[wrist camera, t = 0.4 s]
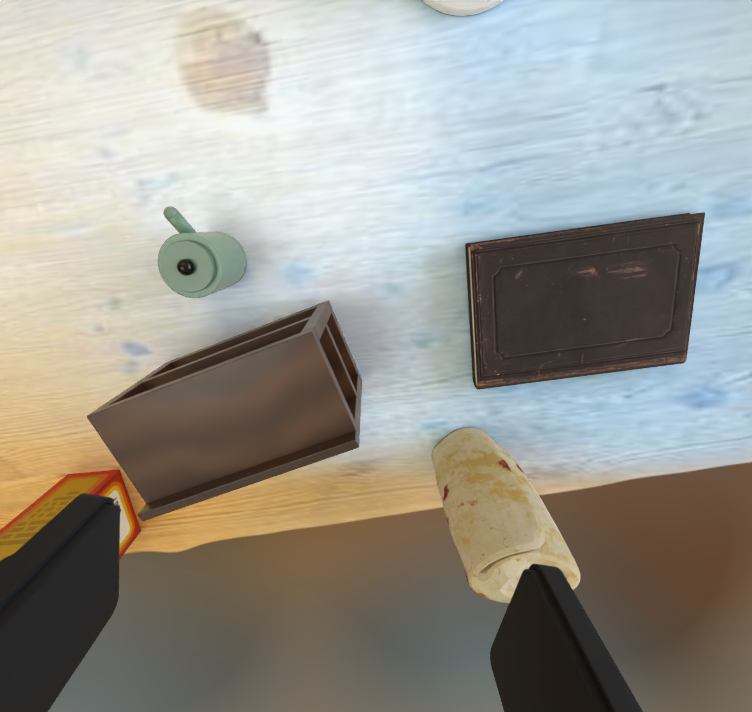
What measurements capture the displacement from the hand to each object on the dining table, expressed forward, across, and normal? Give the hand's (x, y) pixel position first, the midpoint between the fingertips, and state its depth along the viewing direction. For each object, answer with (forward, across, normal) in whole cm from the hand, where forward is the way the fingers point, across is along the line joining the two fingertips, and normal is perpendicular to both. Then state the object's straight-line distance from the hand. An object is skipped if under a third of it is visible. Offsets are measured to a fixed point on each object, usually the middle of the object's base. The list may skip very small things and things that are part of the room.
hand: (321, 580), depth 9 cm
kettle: (+35, +16, -3) cm, 39 cm away
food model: (+36, -17, +14) cm, 42 cm away
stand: (+35, +9, +10) cm, 38 cm away
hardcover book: (+35, -23, -5) cm, 43 cm away
